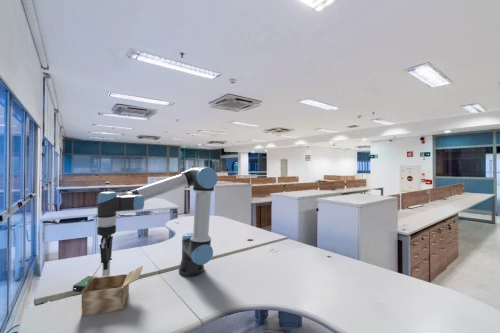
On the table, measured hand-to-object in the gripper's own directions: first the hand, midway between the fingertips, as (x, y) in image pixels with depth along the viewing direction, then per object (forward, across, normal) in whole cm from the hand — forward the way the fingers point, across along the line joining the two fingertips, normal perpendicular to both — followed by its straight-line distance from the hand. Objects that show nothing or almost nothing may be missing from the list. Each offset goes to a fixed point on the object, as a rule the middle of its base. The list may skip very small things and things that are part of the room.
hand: (106, 275), depth 111 cm
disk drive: (+14, -20, -11) cm, 27 cm away
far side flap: (+3, 0, -8) cm, 8 cm away
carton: (+14, 0, 0) cm, 14 cm away
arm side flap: (+3, 0, +8) cm, 9 cm away
